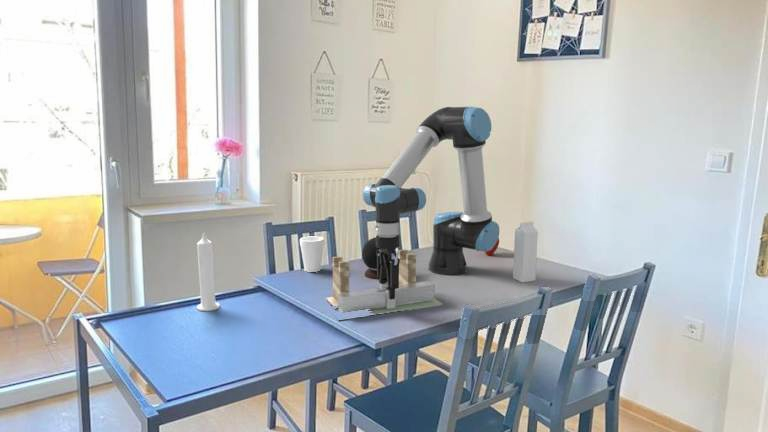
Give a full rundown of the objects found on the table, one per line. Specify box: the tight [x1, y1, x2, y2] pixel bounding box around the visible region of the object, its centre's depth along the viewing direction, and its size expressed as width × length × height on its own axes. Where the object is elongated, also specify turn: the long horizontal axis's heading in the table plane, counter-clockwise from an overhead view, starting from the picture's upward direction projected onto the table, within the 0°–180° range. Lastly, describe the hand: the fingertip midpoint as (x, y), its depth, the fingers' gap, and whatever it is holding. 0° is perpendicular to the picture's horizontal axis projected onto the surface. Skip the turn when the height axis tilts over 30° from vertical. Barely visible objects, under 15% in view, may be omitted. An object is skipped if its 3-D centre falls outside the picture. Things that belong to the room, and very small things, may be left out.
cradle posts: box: [325, 248, 417, 307], centre depth 193 cm, size 32×9×15 cm, turn 113°
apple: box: [483, 236, 500, 256], centre depth 250 cm, size 9×8×11 cm
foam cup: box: [299, 235, 325, 273], centre depth 226 cm, size 10×9×13 cm
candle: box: [196, 232, 221, 312], centre depth 184 cm, size 7×7×25 cm
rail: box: [337, 280, 436, 313], centre depth 184 cm, size 32×4×5 cm, turn 113°
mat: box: [368, 297, 444, 314], centre depth 184 cm, size 36×8×1 cm, turn 113°
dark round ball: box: [361, 236, 397, 280], centre depth 220 cm, size 13×13×15 cm
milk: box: [512, 221, 539, 283], centre depth 214 cm, size 6×6×22 cm
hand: (387, 305), depth 184 cm, fingers open, 4 cm apart
